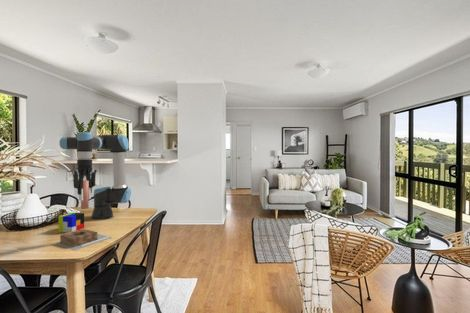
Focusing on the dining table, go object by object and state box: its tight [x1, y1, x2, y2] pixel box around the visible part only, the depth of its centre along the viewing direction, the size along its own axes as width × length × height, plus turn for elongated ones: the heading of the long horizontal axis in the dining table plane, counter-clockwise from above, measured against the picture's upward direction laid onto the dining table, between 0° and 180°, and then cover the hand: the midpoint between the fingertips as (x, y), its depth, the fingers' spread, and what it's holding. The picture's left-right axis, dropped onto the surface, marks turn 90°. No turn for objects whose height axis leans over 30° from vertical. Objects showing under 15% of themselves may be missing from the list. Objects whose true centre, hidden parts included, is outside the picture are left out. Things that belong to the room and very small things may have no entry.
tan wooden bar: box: [80, 179, 90, 210], centre depth 146 cm, size 4×4×16 cm
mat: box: [53, 233, 113, 251], centre depth 144 cm, size 22×20×1 cm
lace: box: [81, 236, 110, 246], centre depth 142 cm, size 16×1×1 cm, turn 153°
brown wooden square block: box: [59, 228, 98, 247], centre depth 142 cm, size 13×13×4 cm
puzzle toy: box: [58, 212, 85, 233], centre depth 166 cm, size 10×10×10 cm
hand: (84, 199), depth 146 cm, fingers closed on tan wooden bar, 4 cm apart
